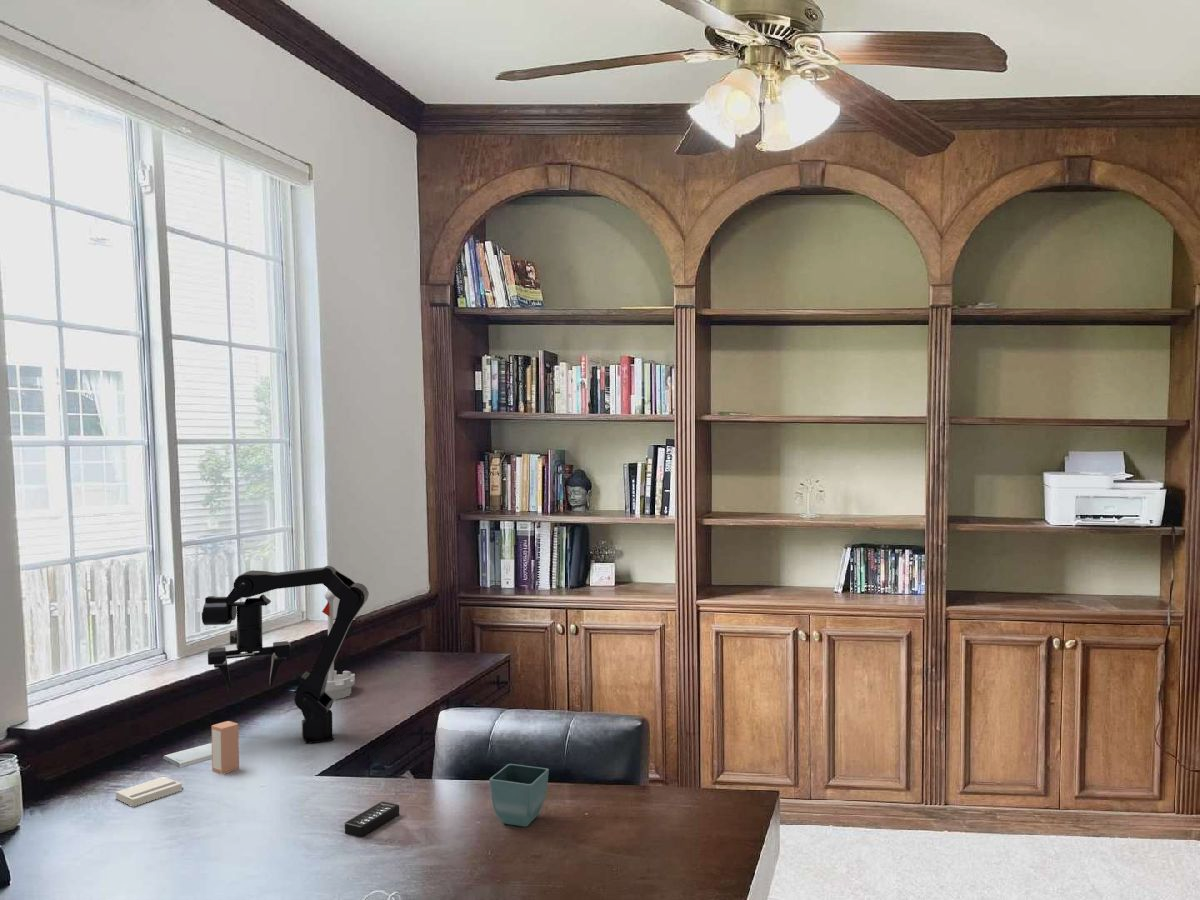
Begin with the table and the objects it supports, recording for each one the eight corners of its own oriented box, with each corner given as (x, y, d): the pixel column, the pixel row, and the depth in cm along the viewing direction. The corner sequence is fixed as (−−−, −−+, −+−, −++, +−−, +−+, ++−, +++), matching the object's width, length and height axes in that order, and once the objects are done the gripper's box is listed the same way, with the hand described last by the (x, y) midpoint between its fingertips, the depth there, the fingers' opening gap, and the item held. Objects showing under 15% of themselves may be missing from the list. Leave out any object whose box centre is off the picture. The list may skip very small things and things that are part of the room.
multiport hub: (343, 835, 164) (343, 823, 163) (382, 812, 173) (382, 800, 173) (362, 839, 162) (362, 827, 162) (400, 816, 172) (400, 804, 172)
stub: (228, 765, 199) (228, 720, 199) (239, 768, 197) (238, 723, 197) (211, 770, 196) (211, 725, 196) (222, 774, 194) (221, 728, 194)
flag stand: (320, 687, 262) (318, 586, 261) (362, 689, 260) (360, 586, 260) (299, 700, 249) (297, 594, 248) (343, 702, 247) (341, 594, 247)
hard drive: (179, 763, 198) (233, 747, 207) (163, 755, 203) (216, 740, 213) (179, 770, 198) (233, 754, 208) (163, 762, 203) (216, 747, 213)
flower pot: (550, 814, 171) (550, 767, 171) (532, 833, 163) (531, 784, 162) (509, 808, 174) (508, 763, 174) (488, 827, 165) (488, 779, 165)
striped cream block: (167, 782, 189) (166, 775, 189) (184, 789, 185) (184, 782, 185) (115, 799, 181) (115, 791, 181) (133, 807, 177) (132, 799, 177)
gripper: (287, 614, 226) (288, 675, 226) (207, 621, 218) (208, 684, 218) (291, 622, 216) (292, 686, 216) (207, 630, 208) (208, 696, 208)
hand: (250, 688), depth 215 cm, fingers open, 9 cm apart
